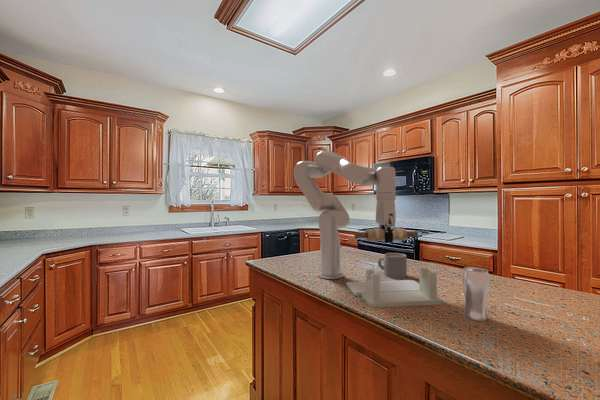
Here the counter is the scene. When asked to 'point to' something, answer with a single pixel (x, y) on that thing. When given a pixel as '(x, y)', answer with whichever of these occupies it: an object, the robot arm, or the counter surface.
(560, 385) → the counter surface
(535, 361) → the counter surface
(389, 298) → the pin stand
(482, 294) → the beer glass
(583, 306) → the counter surface
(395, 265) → the coffee mug
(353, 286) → the pastry board
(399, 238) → the rolling pin
